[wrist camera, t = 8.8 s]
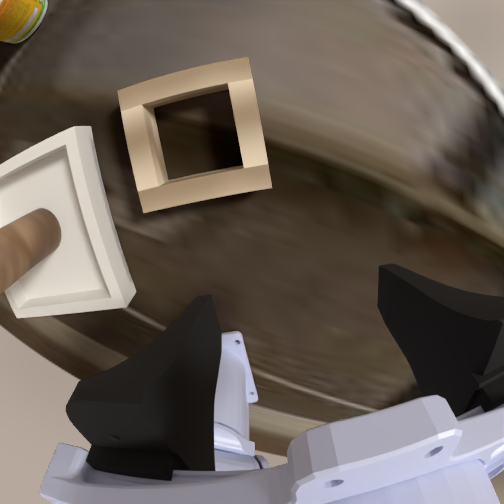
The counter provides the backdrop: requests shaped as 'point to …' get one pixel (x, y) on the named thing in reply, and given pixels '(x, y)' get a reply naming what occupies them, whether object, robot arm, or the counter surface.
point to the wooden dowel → (26, 244)
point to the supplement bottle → (20, 18)
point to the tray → (66, 228)
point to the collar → (149, 148)
